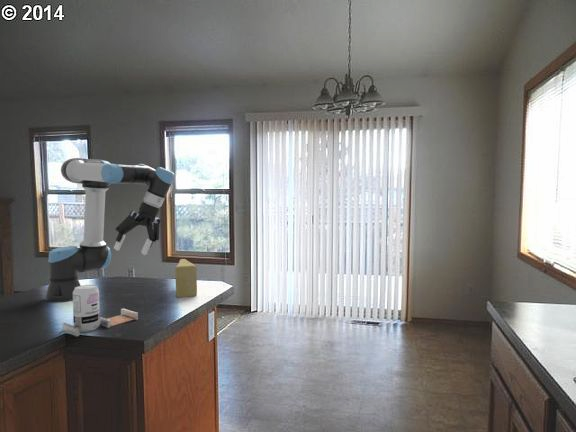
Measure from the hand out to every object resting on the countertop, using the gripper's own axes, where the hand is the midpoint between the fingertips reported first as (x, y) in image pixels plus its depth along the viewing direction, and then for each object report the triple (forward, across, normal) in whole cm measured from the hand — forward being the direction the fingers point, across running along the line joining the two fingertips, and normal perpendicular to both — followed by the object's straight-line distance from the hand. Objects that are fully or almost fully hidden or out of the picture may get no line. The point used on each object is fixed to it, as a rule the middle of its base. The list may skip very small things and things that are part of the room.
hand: (130, 251), depth 159 cm
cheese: (+16, +40, -1) cm, 43 cm away
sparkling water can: (+26, -15, -14) cm, 33 cm away
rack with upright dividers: (+25, -10, -14) cm, 30 cm away
